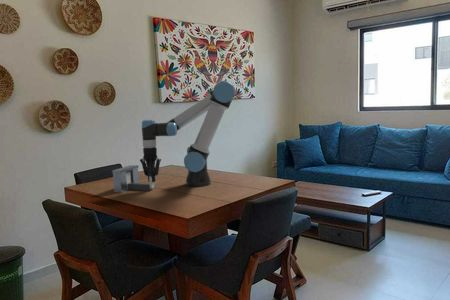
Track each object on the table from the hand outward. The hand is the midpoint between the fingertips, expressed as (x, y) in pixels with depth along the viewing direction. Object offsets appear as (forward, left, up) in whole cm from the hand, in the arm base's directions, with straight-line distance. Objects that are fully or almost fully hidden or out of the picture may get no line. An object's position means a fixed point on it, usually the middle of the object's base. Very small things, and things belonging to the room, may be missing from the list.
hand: (152, 187), depth 217 cm
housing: (+17, 0, -2) cm, 17 cm away
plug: (+11, 0, -2) cm, 11 cm away
